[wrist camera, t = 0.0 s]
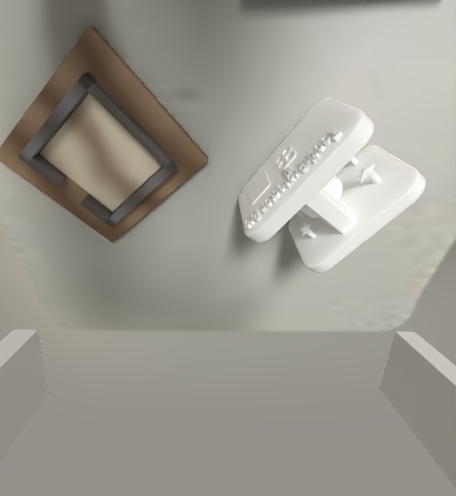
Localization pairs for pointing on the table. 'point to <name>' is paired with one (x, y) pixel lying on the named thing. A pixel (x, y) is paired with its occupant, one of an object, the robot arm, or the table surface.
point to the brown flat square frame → (101, 141)
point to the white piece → (328, 186)
